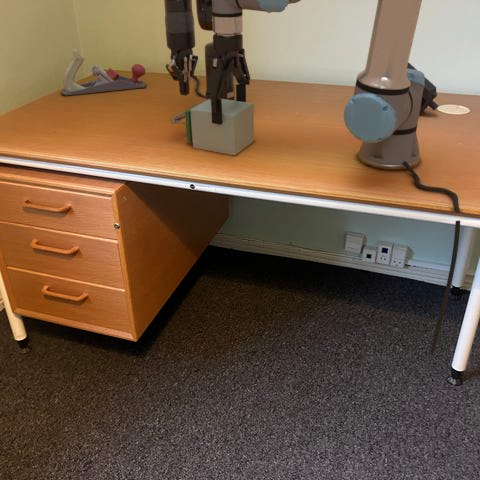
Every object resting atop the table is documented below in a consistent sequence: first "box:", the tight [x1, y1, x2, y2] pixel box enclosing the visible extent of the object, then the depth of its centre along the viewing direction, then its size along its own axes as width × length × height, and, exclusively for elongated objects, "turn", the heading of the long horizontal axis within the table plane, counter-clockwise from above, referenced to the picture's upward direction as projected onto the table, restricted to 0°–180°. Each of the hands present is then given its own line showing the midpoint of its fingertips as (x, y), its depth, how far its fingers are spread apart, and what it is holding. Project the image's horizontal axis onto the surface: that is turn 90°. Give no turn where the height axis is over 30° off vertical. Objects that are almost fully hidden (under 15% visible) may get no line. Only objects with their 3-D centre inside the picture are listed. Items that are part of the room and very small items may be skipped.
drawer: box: [169, 100, 206, 144], centre depth 149 cm, size 18×10×9 cm, turn 62°
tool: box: [407, 61, 439, 113], centre depth 169 cm, size 6×19×15 cm, turn 51°
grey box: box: [189, 99, 255, 156], centre depth 147 cm, size 13×12×11 cm
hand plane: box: [61, 48, 146, 96], centre depth 194 cm, size 7×31×15 cm, turn 107°
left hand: (184, 94), depth 148 cm, fingers closed
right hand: (229, 115), depth 144 cm, fingers open, 13 cm apart
